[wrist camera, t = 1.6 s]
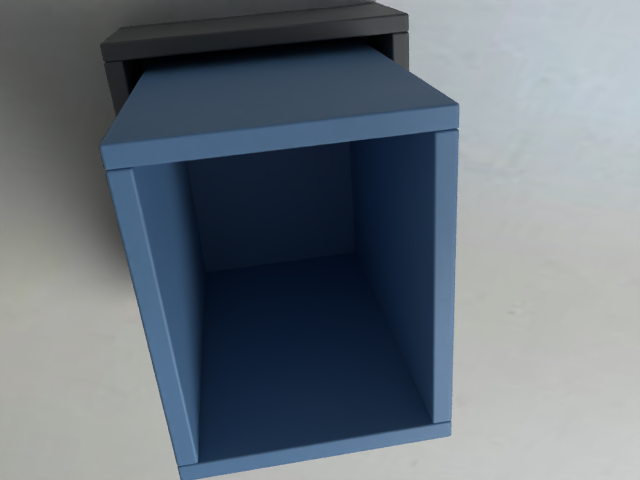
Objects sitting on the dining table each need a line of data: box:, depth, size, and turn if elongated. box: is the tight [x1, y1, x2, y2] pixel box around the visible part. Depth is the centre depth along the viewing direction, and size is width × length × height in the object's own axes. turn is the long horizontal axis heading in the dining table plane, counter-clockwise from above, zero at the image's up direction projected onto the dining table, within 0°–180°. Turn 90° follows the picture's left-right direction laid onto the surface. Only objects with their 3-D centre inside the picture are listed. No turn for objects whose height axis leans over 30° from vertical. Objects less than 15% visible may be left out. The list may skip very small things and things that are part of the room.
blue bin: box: [99, 37, 459, 480], centre depth 21 cm, size 10×8×12 cm
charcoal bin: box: [100, 3, 409, 117], centre depth 25 cm, size 12×10×4 cm
